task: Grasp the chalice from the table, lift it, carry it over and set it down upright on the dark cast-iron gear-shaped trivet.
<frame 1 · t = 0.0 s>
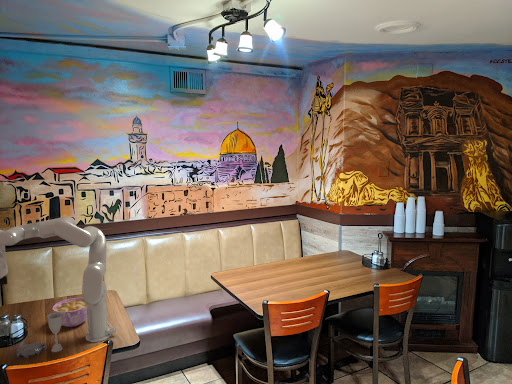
bowl of food: (73, 324, 217), on the table
gear trivet: (31, 351, 188), on the table
chalice: (57, 349, 190), on the table
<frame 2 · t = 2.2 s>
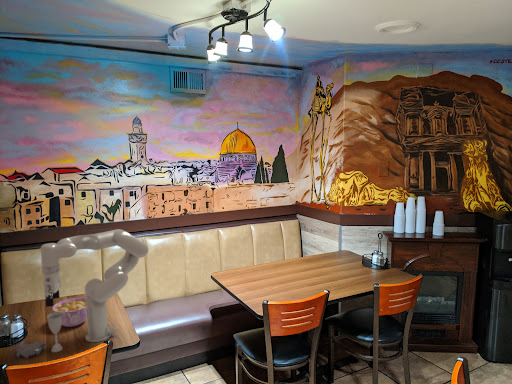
hand: (52, 302, 187), 25 cm above the table, fingers open, 9 cm apart
nothing on the table moved.
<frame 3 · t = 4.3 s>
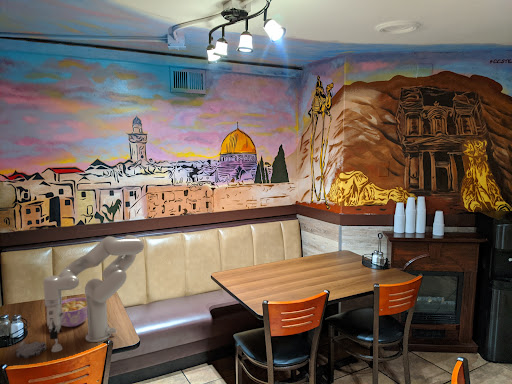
hand: (55, 335, 189), 8 cm above the table, fingers closed on chalice, 5 cm apart
chalice: (57, 349, 190), on the table, touching gripper
everything else where it was.
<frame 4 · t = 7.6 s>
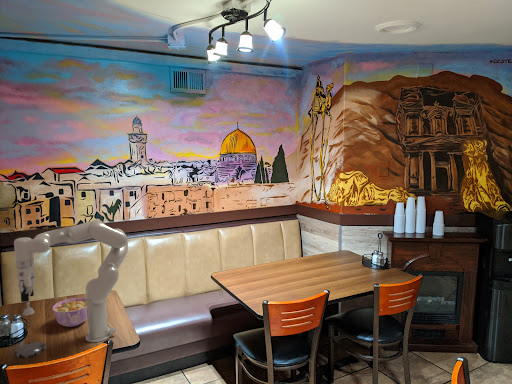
hand: (27, 298, 185), 28 cm above the table, fingers closed on chalice, 5 cm apart
chalice: (28, 313, 186), point 20 cm above the table, touching gripper
everything else where it was.
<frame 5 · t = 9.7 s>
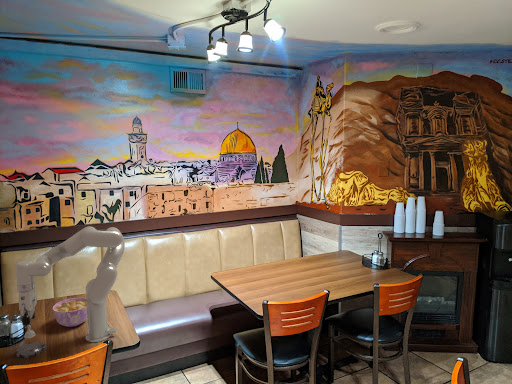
hand: (28, 321, 186), 16 cm above the table, fingers closed on chalice, 5 cm apart
chalice: (29, 336, 187), point 8 cm above the table, touching gripper
everything else where it was.
when the fingers open (10 cm above the table, at t = 11.3 s): chalice drops 1 cm, resting on gear trivet.
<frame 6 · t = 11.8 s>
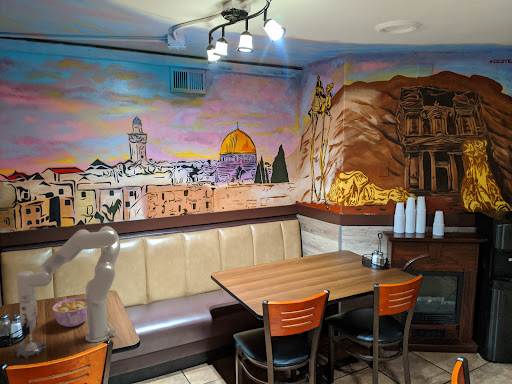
hand: (29, 329, 187), 11 cm above the table, fingers open, 9 cm apart
chalice: (31, 348, 188), point 1 cm above the table, touching gear trivet
everything else where it was.
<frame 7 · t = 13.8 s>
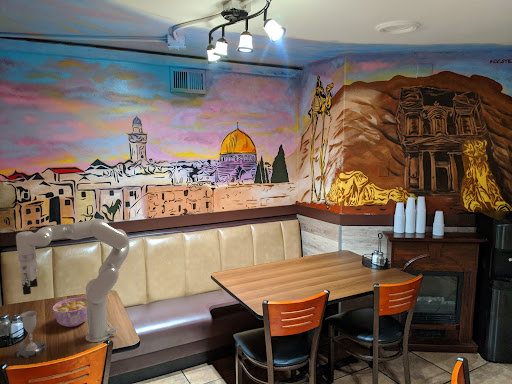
hand: (30, 290, 187), 31 cm above the table, fingers open, 9 cm apart
nothing on the table moved.
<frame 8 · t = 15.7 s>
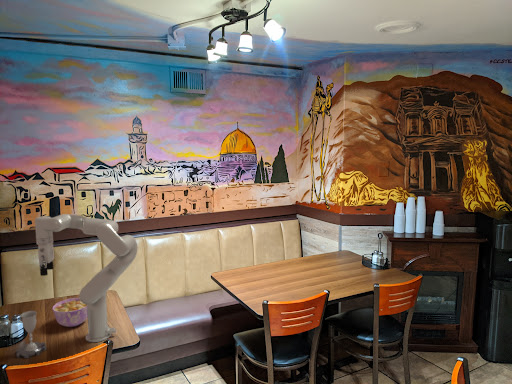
hand: (47, 272, 197), 36 cm above the table, fingers open, 9 cm apart
nothing on the table moved.
at the end: chalice 0.2 cm off-centre on the gear trivet, point 1.3 cm above the gear trivet's base; chalice touching gear trivet; chalice tilted 0° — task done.
